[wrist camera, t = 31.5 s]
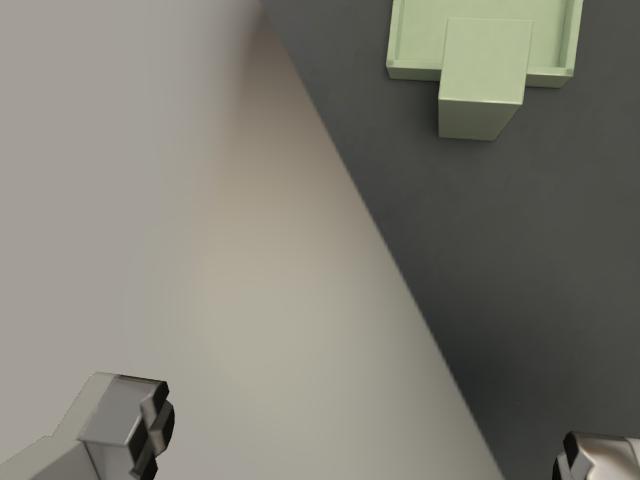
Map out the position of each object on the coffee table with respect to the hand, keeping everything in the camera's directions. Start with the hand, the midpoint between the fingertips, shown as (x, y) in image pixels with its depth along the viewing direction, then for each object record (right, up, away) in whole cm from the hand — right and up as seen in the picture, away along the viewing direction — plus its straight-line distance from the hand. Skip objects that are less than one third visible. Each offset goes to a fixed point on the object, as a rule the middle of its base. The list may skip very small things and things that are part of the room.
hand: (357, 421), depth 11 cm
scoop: (+8, +16, +18) cm, 25 cm away
